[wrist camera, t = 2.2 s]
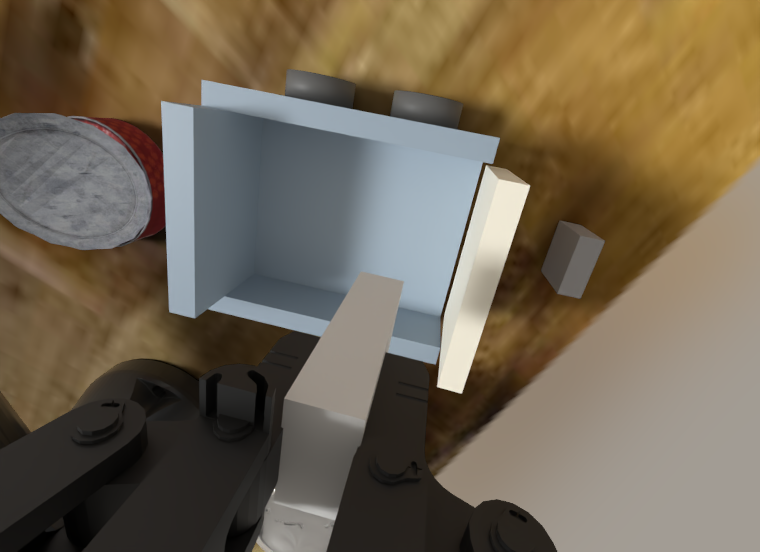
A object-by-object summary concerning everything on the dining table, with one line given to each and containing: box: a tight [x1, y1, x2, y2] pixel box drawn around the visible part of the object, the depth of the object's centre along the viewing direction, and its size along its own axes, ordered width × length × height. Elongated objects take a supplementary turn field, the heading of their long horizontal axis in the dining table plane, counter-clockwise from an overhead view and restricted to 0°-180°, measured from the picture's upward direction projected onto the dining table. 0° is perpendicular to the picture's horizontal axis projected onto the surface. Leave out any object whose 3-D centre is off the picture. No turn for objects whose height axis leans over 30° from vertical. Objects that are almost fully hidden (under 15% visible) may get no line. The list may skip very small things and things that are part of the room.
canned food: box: [0, 113, 166, 250], centre depth 29 cm, size 11×10×10 cm
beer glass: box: [256, 488, 335, 552], centre depth 28 cm, size 7×7×15 cm
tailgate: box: [437, 165, 530, 394], centre depth 20 cm, size 2×10×8 cm, turn 169°
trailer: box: [161, 69, 605, 365], centre depth 23 cm, size 24×16×12 cm
